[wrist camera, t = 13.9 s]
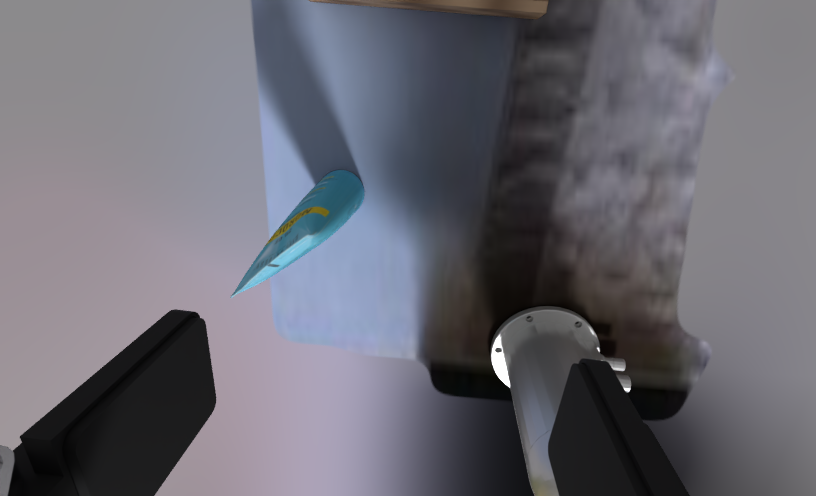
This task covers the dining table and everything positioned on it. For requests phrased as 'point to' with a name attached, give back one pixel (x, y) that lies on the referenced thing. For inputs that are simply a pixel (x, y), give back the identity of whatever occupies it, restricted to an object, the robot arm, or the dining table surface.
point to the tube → (307, 225)
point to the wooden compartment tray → (460, 6)
